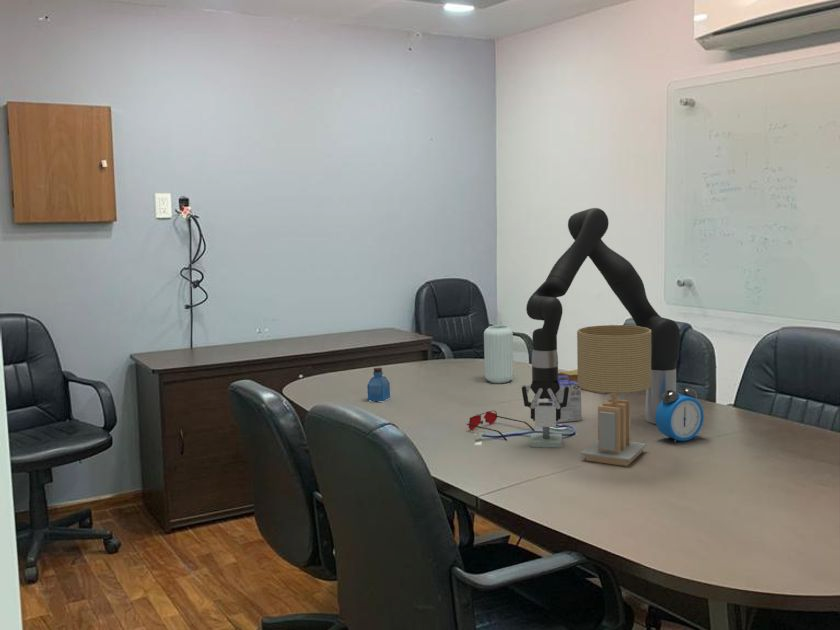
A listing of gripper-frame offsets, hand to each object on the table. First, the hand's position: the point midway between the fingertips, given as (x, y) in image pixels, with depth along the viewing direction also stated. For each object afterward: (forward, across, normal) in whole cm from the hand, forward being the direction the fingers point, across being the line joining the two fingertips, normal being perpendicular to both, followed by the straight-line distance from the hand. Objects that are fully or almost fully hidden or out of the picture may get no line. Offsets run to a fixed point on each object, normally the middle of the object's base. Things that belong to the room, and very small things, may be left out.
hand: (545, 420), depth 235 cm
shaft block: (+7, 0, 0) cm, 7 cm away
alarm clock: (+7, -39, -6) cm, 40 cm away
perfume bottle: (+7, +62, -51) cm, 81 cm away
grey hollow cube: (+1, 0, 0) cm, 1 cm away
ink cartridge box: (+7, -6, -26) cm, 27 cm away
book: (+7, -17, -75) cm, 78 cm away
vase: (+7, +21, -84) cm, 87 cm away
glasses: (+7, +14, -12) cm, 20 cm away
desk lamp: (+7, -19, +12) cm, 23 cm away
